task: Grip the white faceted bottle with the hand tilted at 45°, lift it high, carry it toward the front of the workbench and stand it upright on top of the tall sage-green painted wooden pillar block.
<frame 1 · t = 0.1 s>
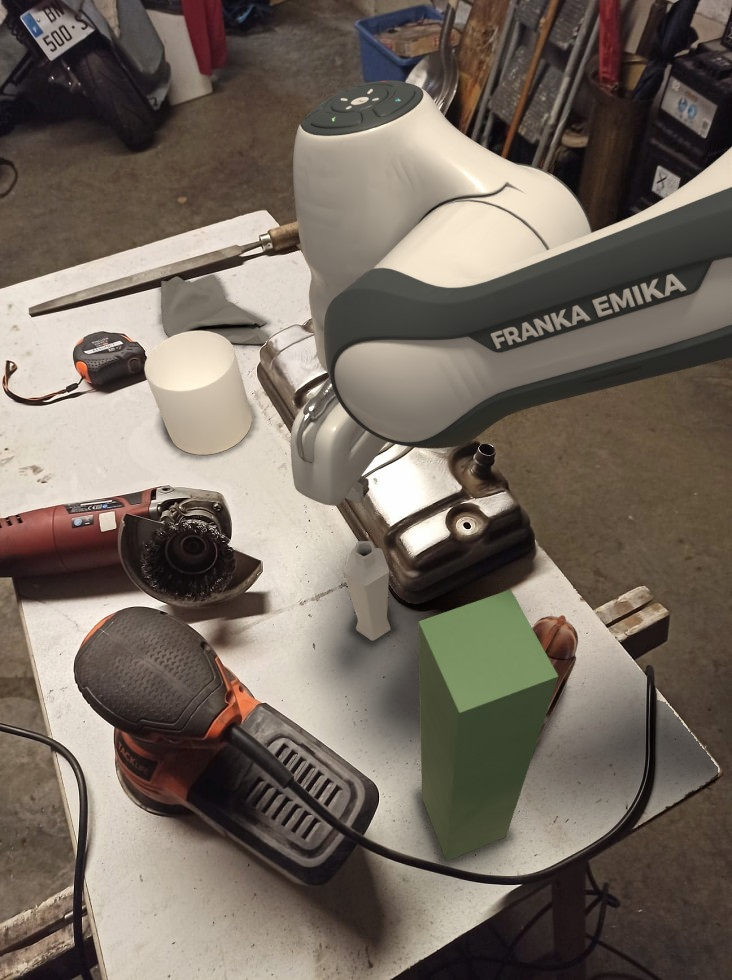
hand: (384, 456, 64), 26 cm above the table, tool pointing down, fingers open, 8 cm apart
cloth: (205, 318, 119), on the table
block: (463, 816, 70), on the table
cup: (211, 425, 104), on the table
white faceted bottle: (375, 625, 83), on the table
brown ribbed piece: (525, 713, 76), on the table
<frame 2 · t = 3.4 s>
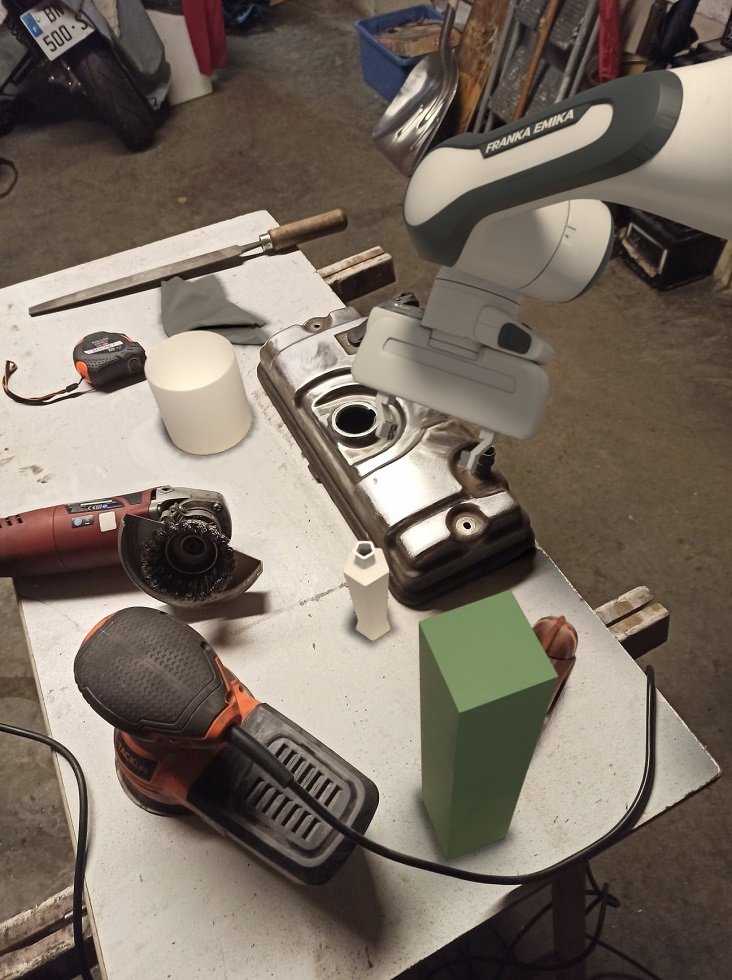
hand: (423, 453, 76), 17 cm above the table, tool tilted 45°, fingers open, 8 cm apart
nothing on the table moved.
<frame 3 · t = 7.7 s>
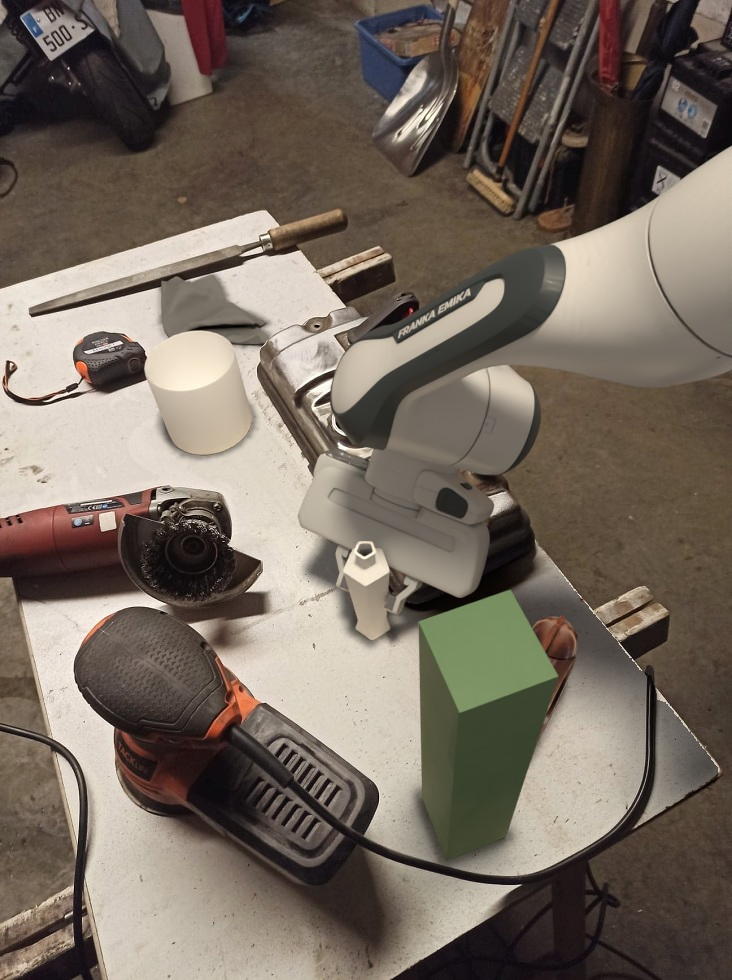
hand: (368, 599, 77), 6 cm above the table, tool tilted 45°, fingers closed on white faceted bottle, 4 cm apart
white faceted bottle: (374, 625, 83), on the table, touching gripper
everything else where it was.
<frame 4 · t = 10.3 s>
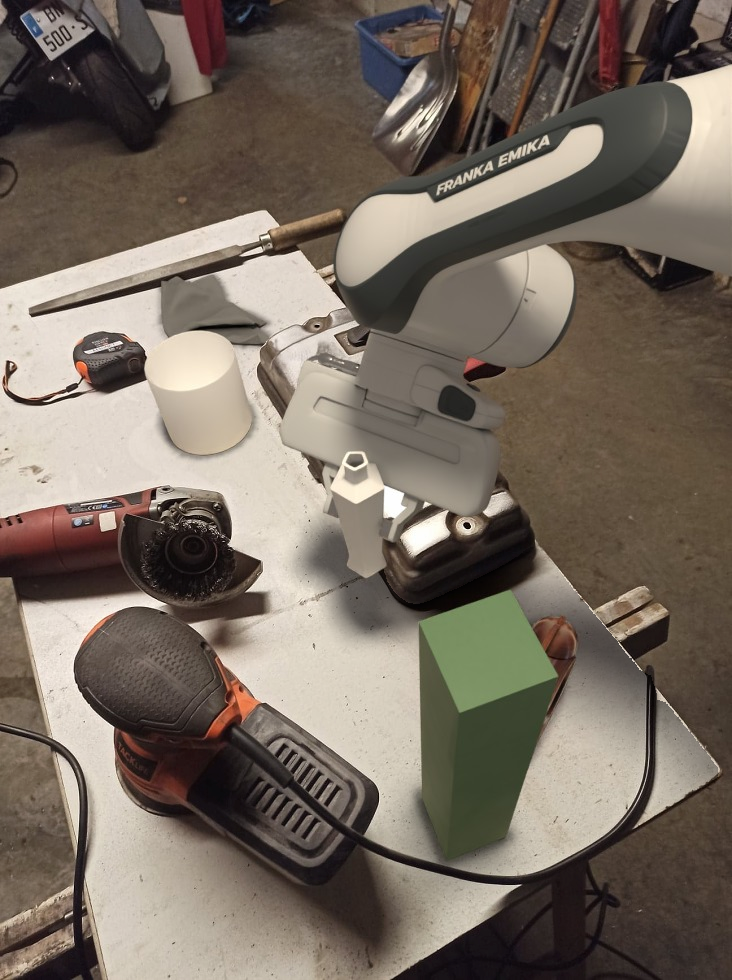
hand: (360, 527, 67), 20 cm above the table, tool tilted 45°, fingers closed on white faceted bottle, 4 cm apart
white faceted bottle: (368, 561, 72), point 13 cm above the table, touching gripper
everything else where it was.
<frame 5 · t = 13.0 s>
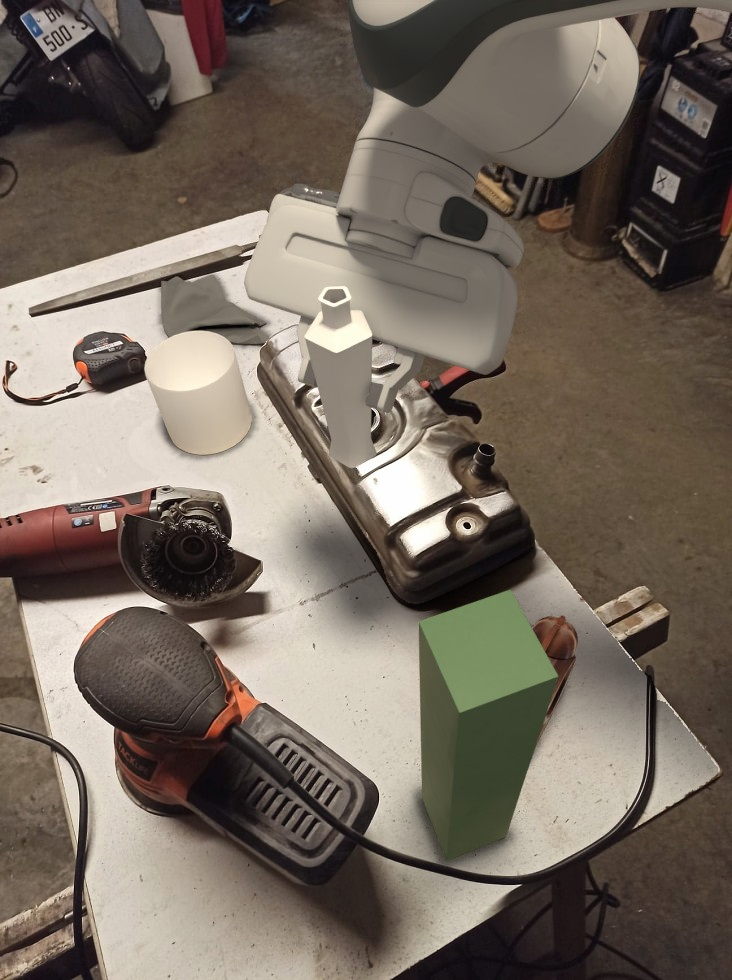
hand: (343, 397, 54), 36 cm above the table, tool tilted 45°, fingers closed on white faceted bottle, 4 cm apart
white faceted bottle: (355, 451, 60), point 29 cm above the table, touching gripper
everything else where it was.
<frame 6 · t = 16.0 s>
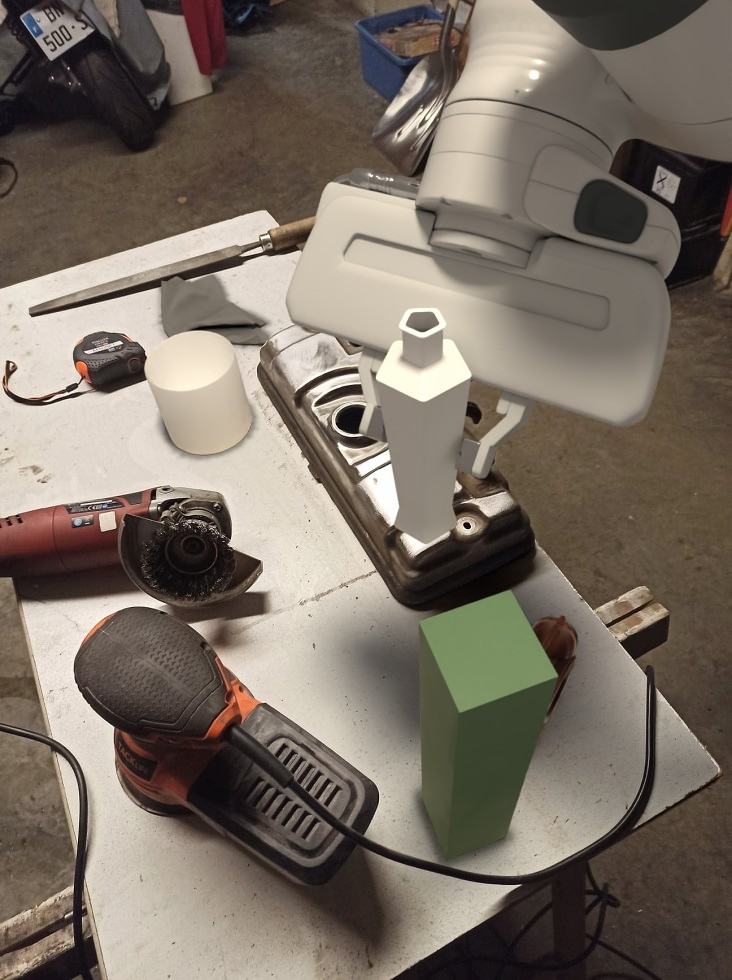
hand: (422, 456, 40), 44 cm above the table, tool tilted 45°, fingers closed on white faceted bottle, 4 cm apart
white faceted bottle: (428, 519, 46), point 37 cm above the table, touching gripper
everything else where it was.
when the fingers open (41 cm above the table, at t = 18.5 s): white faceted bottle stays where it is, resting on block.
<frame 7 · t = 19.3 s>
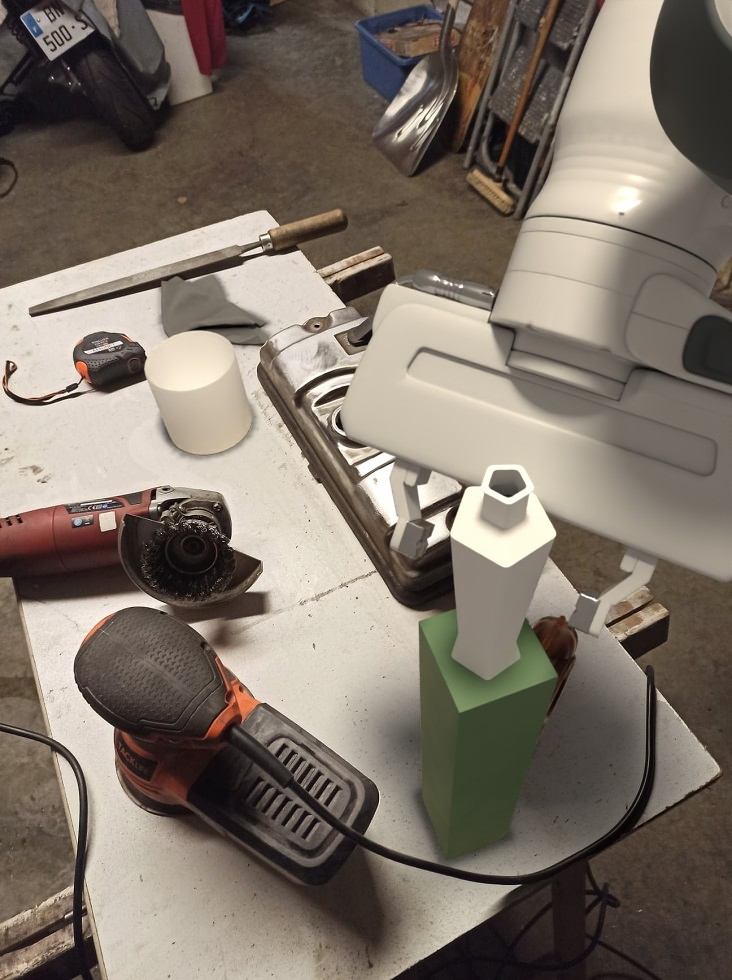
hand: (491, 589, 36), 42 cm above the table, tool tilted 45°, fingers open, 8 cm apart
white faceted bottle: (488, 649, 42), point 35 cm above the table, touching block
everything else where it was.
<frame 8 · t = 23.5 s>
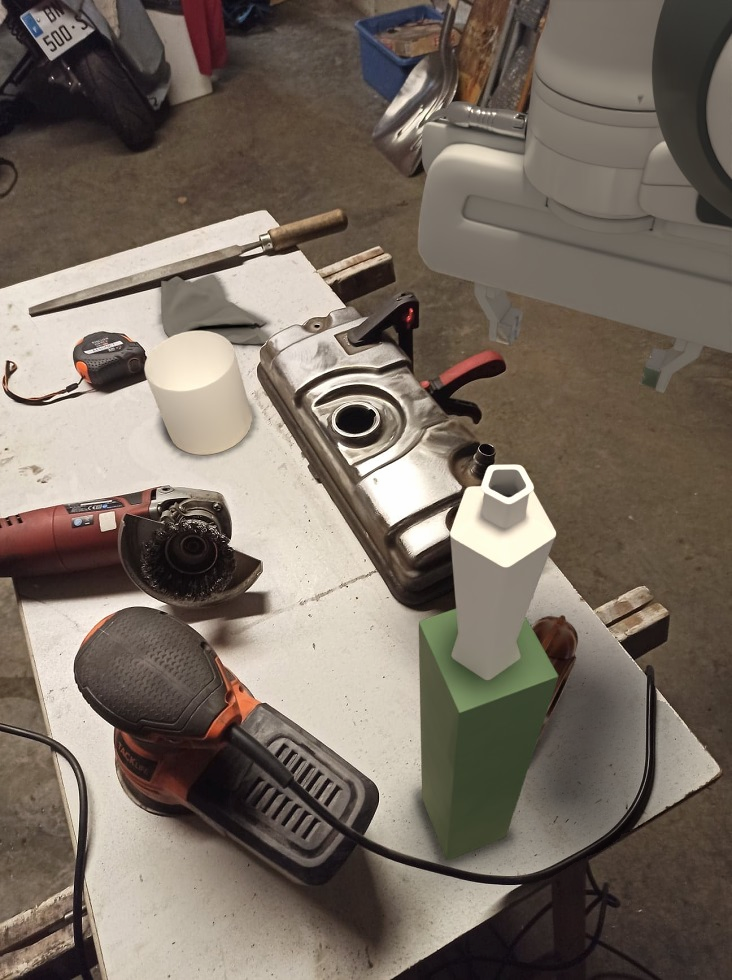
hand: (576, 359, 45), 43 cm above the table, tool pointing down, fingers open, 8 cm apart
nothing on the table moved.
at the end: white faceted bottle 0.1 cm off-centre on the block, point 34.8 cm above the block's base; white faceted bottle tilted 0°; the gripper is holding nothing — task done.
